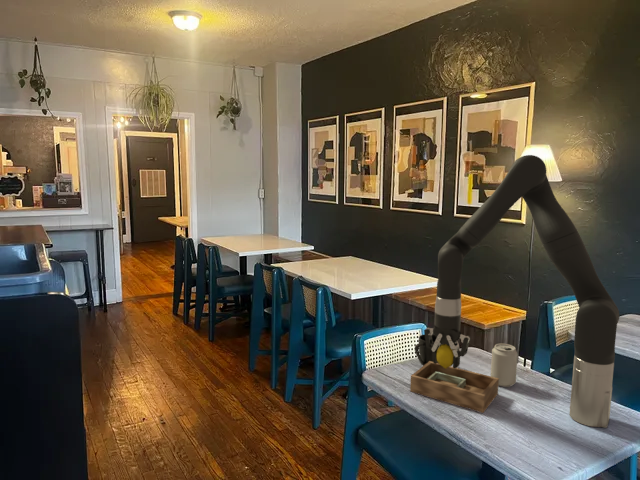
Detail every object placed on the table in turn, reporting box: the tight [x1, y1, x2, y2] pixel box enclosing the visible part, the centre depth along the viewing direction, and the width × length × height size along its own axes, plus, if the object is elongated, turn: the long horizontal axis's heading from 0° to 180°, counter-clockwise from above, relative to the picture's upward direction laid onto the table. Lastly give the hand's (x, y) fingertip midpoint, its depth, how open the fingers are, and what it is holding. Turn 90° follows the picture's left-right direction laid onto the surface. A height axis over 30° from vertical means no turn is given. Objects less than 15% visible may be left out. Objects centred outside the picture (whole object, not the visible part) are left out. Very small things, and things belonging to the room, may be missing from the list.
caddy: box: [409, 361, 499, 414], centre depth 143 cm, size 22×14×5 cm, turn 54°
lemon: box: [436, 344, 454, 369], centre depth 144 cm, size 6×6×8 cm
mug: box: [414, 333, 443, 367], centre depth 163 cm, size 8×12×10 cm
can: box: [490, 343, 519, 388], centre depth 150 cm, size 8×8×12 cm
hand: (445, 364), depth 145 cm, fingers closed on lemon, 5 cm apart
